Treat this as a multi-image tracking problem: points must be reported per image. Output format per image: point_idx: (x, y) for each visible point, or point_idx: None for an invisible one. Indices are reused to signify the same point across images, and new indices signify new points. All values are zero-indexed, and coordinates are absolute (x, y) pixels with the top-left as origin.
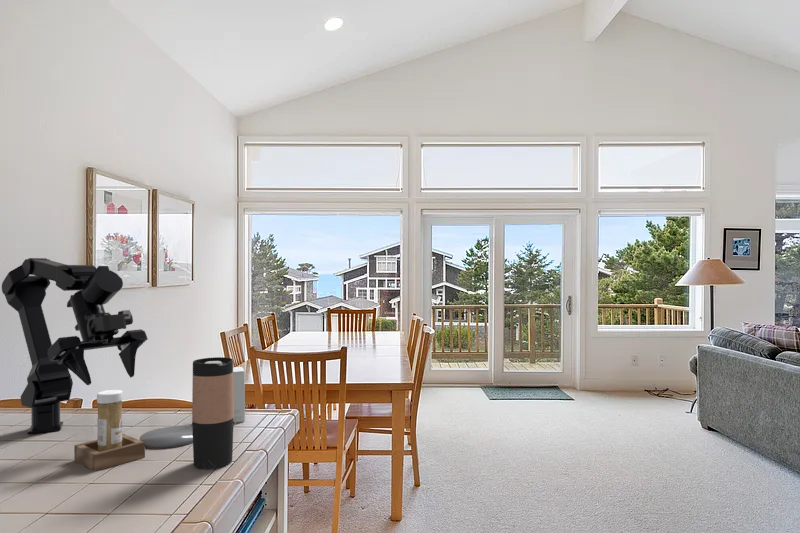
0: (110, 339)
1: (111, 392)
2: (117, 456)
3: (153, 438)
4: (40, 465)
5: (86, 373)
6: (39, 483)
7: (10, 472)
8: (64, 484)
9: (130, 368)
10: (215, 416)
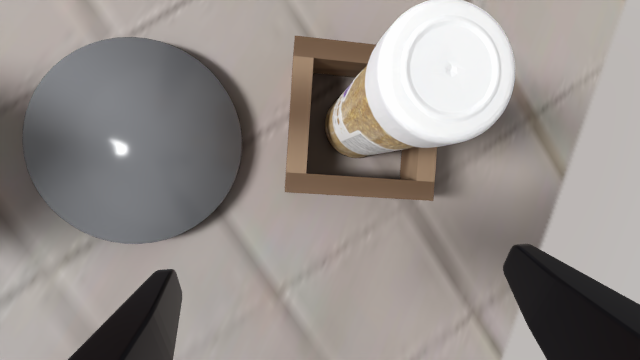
0: None
1: (456, 40)
2: None
3: (200, 152)
4: (477, 232)
5: (605, 294)
6: (529, 103)
7: (535, 240)
8: None
9: (151, 329)
10: None
